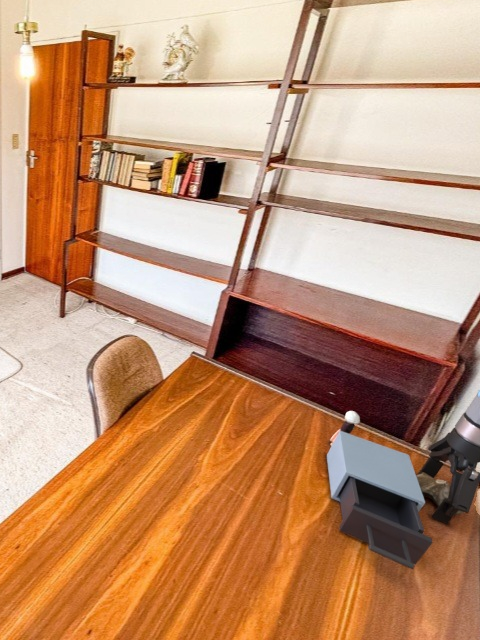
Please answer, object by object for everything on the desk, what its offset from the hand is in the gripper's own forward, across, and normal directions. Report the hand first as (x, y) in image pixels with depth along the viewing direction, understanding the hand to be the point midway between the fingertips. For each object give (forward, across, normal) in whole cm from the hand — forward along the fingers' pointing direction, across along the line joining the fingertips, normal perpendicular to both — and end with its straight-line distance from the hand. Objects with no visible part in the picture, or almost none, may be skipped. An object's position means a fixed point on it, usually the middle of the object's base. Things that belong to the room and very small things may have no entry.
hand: (431, 498), depth 100 cm
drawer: (-1, -20, +15) cm, 25 cm away
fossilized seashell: (0, 0, 0) cm, 0 cm away
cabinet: (0, -7, +15) cm, 16 cm away
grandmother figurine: (0, +7, +19) cm, 21 cm away
